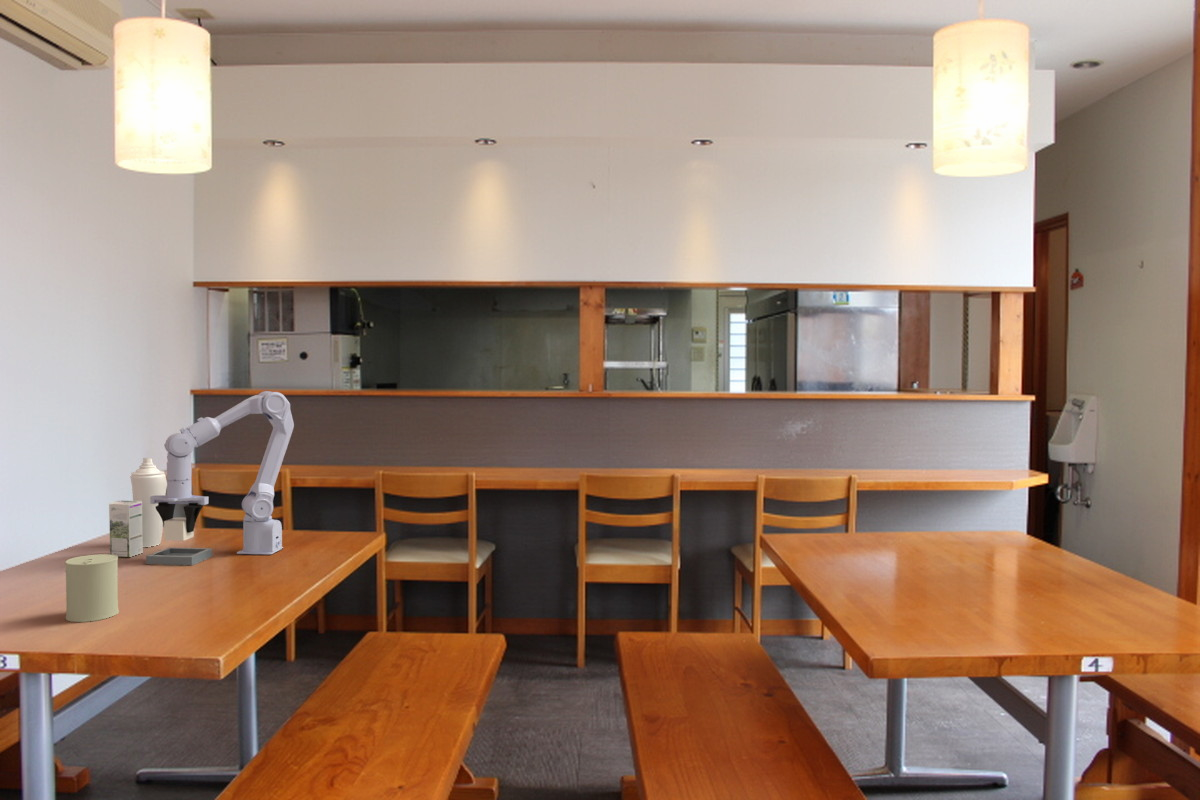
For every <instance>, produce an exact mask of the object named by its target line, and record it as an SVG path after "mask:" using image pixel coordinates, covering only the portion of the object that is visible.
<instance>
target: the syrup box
mask: <svg viewBox="0 0 1200 800" xmlns="http://www.w3.org/2000/svg"><path fill="white" fill-rule="evenodd" d="M108 506H109V507H108V508H109V509H108V511H109V512H108V513H109V517H108V518H109V554H110V555H116V556H118V558H121V557H131V558H133V557H132V556H134V557H136V556H135V555H137V556H139V555H138V554H140V555H142V554H141V553H143V554H144V551H143V550H144V548H143V542H142V501H133V500H125V499H124V500H116V501H113V502H109V504H108Z"/></svg>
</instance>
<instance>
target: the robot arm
mask: <svg viewBox="0 0 1200 800" xmlns="http://www.w3.org/2000/svg"><path fill="white" fill-rule="evenodd" d="M256 414H257V415H258V414H259V415H260V414H262V415H263V416H265V417H266V418H267V420H268V422H269V423H270V424H271V426H272V431H271V434H270V436H269V439H268V442H267V444H266V449H265V452H264V455H263V458H262V460H261V463H260V467H259V469H258V472H257V475H256V479H255V481H254V482H253V484H252V485H251V487H250V489H249V491H248V493H247V495H246V496H244V498H243V499H242V501H241V509H242V511H243V512H244V513H245V515H244V517H243V519H242V520H243V523H242V524H243V526H242V527H243V528H242V530H243V533H242V537H243V538H242V540H243V542H242V543H243V546H242V547H243V548H242V549H241V550H239V551H237V552H236V555H237V554H238V555H272V554H275V553H276V552H278V551H281V550H283V549H284V547H283V527H282V526H283V525H282V522H281V521H280V520H278V519H273V516H272V514H273V512H274V497H275V489H274V488H275V484H276V482H277V479H278V475H279V472H280V470H281V467H282V464H283V461H284V457H285V454H286V452H287V449H288V445H289V443H290V440H291V437H292V434H293V431H294V427H295V423H294V419H293V415H292V411H291V403H290V402H289V400H288V399H287V398H286V396H285V395H284V394H283V393H281V392H279V391H270V390H265V391H261V392H260V393H258V394H255V395H252V396H250V397H248V398H246V399H243V401H241V402H239V403H237V404H236V405H234V406H233V407H231V408H229V409H227V410H226V411H224V412H222V413H221V414H219V415H217V416H215V417H209V416H206V417H199V418H197V419H196V422H195V423H193V424H191V425H190V426H187V427H186V428H184V427H182V428H180V429H179V431H180V433H179V432H178V433H177V432H176V433H172V434H170V435H169V436H168V437H167V438H166V440H165V443H164V449H165V450H166V452H167V456H166V459H167V462H166V480H167V488H166V494H165V495H154V496H151V497H150V504H155V503H158V506H156V510H157V512H158V513H159V515H160V517H161V519H162V521H163V525H164V521H166V520H169V519H172V518H174V512H175V508H176V505H177V504H178V505H184V506H183V510H184V515H185V518H186V530H187V533H190V532H193V531H194V532H195V527H196V523H197V519H198V516H199V515H200V513H201V511H202V509H203V508H204V506H206V505H209V496H205V495H204V496H203V495H194V494H192V489H193V487H192V482H193V481H192V461H191V458H192V457H191V456H192V455H191V454H192V452H193V450H194V448H199V447H201V446H202V445H204V444H206V443H207V442H209V441H211V440H213V439H215V438H217V437H218V436H220V433H221V430H222V429H223V428H224V427H227V426H229V425H230V424H233V423H234V422H236V421H239V420H240V419H242V418H244V417H246V416H248V415H256ZM282 548H283V549H282Z"/></svg>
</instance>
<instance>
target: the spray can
mask: <svg viewBox="0 0 1200 800" xmlns="http://www.w3.org/2000/svg"><path fill="white" fill-rule="evenodd" d="M129 478H130V482H131V490H132V501H142V542H143V547H148V548H152V547H151V546H154V547H157V546H156V545H158V546H159V544H160V545H161V542H162V537H163V533H164V524H163V521H162V519H161V517H160V515H159V513H158V512H157V510H156V506H158V503H155V504H150V497H151V496H154V495H167V474H165V471H163V470H160V469H158V468H157V465H156V464H154V462H153V458H150V457H143V458H142V462H141V465H139V467H138V468H137V469H136V471H133V472H131V473H130V477H129Z"/></svg>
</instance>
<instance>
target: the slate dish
mask: <svg viewBox="0 0 1200 800" xmlns="http://www.w3.org/2000/svg"><path fill="white" fill-rule="evenodd" d="M210 557H211V558H213V548H212V547H211V548H210V547H207V548H205V547H204V548H203V547H197V548H196V547H166V548H164V549H161V550H158V551H155V552H152V553H150V554H148V555H145V565H146V564H163V565H164V566H187V565H191V566H194V565H196V564H199V563H201V562H204V561H206V560H208V559H211V558H210ZM203 560H204V561H203ZM163 565H162V566H163Z"/></svg>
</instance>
